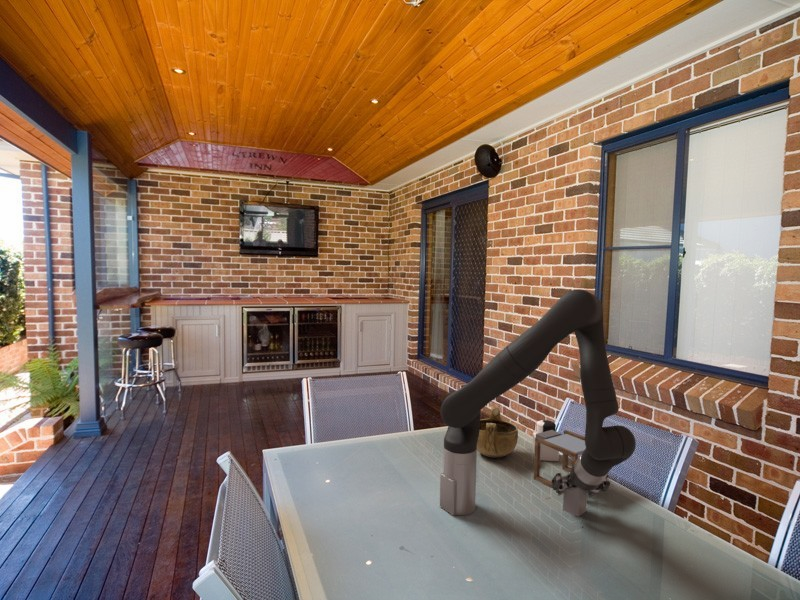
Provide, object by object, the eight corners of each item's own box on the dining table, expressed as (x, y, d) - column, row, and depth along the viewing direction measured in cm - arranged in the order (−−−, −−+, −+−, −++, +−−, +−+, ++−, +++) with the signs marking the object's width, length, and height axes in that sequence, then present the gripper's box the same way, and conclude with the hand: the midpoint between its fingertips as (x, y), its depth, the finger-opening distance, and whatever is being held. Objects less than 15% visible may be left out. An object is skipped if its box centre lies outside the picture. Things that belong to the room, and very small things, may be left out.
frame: (573, 499, 134) (575, 454, 133) (533, 478, 147) (535, 438, 146) (605, 486, 142) (606, 444, 141) (564, 468, 155) (566, 430, 154)
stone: (578, 516, 124) (579, 481, 123) (563, 510, 127) (564, 475, 127) (586, 511, 127) (587, 476, 126) (570, 504, 130) (572, 471, 130)
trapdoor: (573, 457, 135) (573, 452, 135) (531, 439, 149) (531, 435, 149) (599, 449, 142) (599, 444, 141) (556, 433, 156) (556, 428, 155)
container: (553, 453, 168) (554, 418, 167) (558, 461, 160) (559, 425, 160) (532, 452, 169) (533, 417, 168) (536, 460, 161) (537, 424, 160)
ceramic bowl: (474, 441, 179) (475, 403, 178) (518, 446, 174) (519, 408, 173) (465, 463, 158) (466, 421, 157) (516, 470, 153) (517, 426, 152)
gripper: (614, 456, 118) (596, 479, 130) (558, 454, 119) (546, 477, 131) (622, 486, 113) (602, 506, 125) (564, 483, 114) (550, 504, 126)
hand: (573, 492), depth 128 cm, fingers open, 8 cm apart
